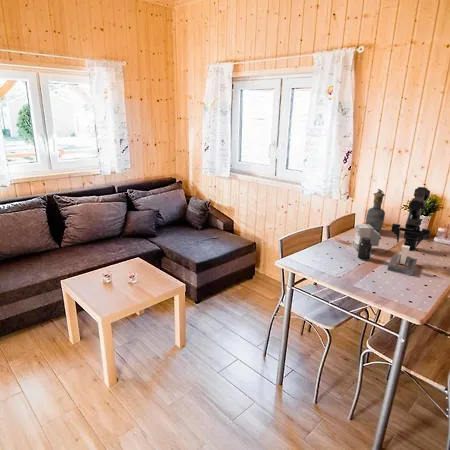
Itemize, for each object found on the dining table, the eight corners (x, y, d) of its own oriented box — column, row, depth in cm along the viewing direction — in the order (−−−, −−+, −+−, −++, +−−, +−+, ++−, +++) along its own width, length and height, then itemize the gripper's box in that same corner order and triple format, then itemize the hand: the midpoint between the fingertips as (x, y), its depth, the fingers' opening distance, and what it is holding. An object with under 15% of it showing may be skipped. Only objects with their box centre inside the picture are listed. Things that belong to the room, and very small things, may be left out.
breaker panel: (392, 259, 198) (394, 251, 197) (416, 264, 192) (417, 256, 191) (387, 269, 185) (388, 261, 183) (412, 275, 179) (414, 267, 177)
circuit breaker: (380, 251, 208) (384, 228, 203) (356, 251, 208) (359, 227, 204) (375, 247, 215) (379, 224, 210) (352, 246, 215) (355, 223, 211)
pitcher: (362, 233, 239) (369, 190, 229) (367, 225, 254) (373, 185, 245) (379, 236, 234) (387, 193, 224) (383, 228, 249) (390, 187, 240)
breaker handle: (399, 261, 188) (402, 244, 184) (406, 263, 186) (409, 246, 183) (398, 263, 185) (401, 246, 182) (405, 264, 183) (409, 248, 180)
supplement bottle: (369, 256, 201) (372, 237, 197) (370, 261, 195) (373, 241, 191) (357, 255, 203) (360, 235, 199) (357, 259, 197) (360, 239, 193)
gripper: (395, 209, 191) (388, 233, 186) (433, 215, 182) (427, 241, 176) (394, 219, 200) (388, 243, 195) (431, 225, 190) (426, 250, 185)
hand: (407, 244), depth 188 cm, fingers open, 9 cm apart
